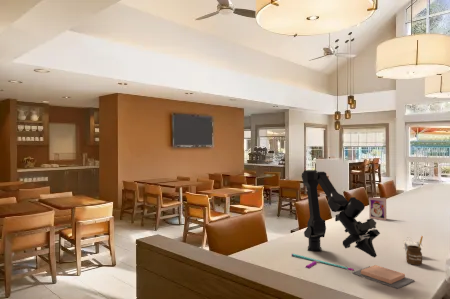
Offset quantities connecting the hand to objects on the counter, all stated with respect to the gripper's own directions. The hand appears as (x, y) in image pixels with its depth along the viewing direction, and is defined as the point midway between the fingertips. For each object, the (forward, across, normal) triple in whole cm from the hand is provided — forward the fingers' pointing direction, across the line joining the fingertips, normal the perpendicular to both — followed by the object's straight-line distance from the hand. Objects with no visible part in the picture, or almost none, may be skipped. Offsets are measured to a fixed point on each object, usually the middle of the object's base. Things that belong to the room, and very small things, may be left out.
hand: (375, 256), depth 127 cm
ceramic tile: (+6, 0, +2) cm, 6 cm away
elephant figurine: (+2, +37, +8) cm, 38 cm away
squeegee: (-9, -10, +21) cm, 25 cm away
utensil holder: (+7, +26, +4) cm, 27 cm away
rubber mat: (+7, 0, +3) cm, 8 cm away
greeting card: (-36, +103, +46) cm, 118 cm away
